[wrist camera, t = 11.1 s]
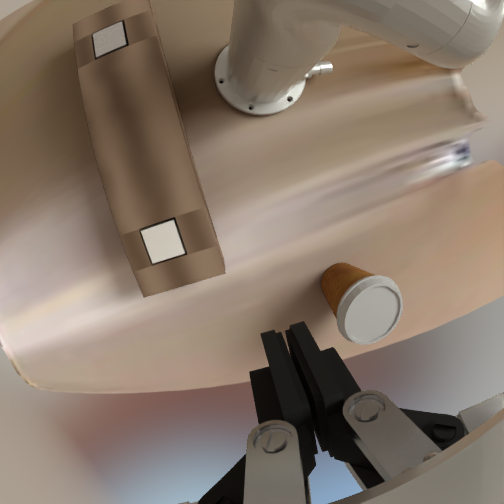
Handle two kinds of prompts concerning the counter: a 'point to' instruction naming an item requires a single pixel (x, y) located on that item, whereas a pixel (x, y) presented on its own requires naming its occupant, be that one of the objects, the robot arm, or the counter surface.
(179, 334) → the counter surface
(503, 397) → the robot arm
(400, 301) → the disposable coffee cup
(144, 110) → the walnut block
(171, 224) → the white peg
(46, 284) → the counter surface
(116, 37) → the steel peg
